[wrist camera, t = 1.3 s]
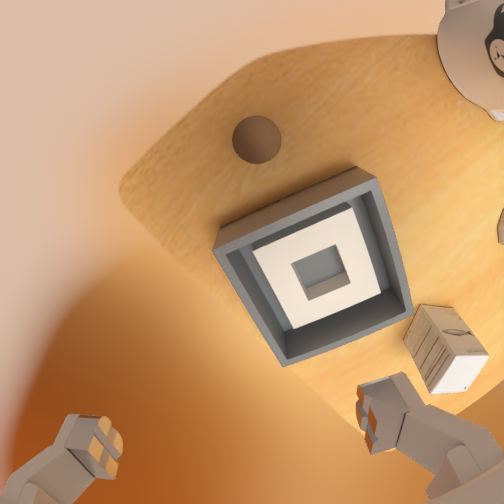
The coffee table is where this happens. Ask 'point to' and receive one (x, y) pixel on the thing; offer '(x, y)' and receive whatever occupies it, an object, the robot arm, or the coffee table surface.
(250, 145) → the peg
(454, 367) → the supplement box
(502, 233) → the flask
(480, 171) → the coffee table surface
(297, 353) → the bin
